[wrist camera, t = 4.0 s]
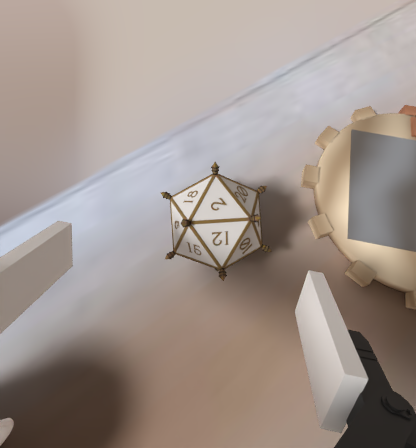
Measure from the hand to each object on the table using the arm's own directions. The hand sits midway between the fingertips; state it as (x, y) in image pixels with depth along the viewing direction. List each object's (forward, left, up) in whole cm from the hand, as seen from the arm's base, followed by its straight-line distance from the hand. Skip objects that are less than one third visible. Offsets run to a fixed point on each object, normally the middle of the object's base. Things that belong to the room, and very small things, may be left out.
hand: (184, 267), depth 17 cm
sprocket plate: (-19, -13, -10) cm, 25 cm away
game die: (-1, -5, -10) cm, 12 cm away
